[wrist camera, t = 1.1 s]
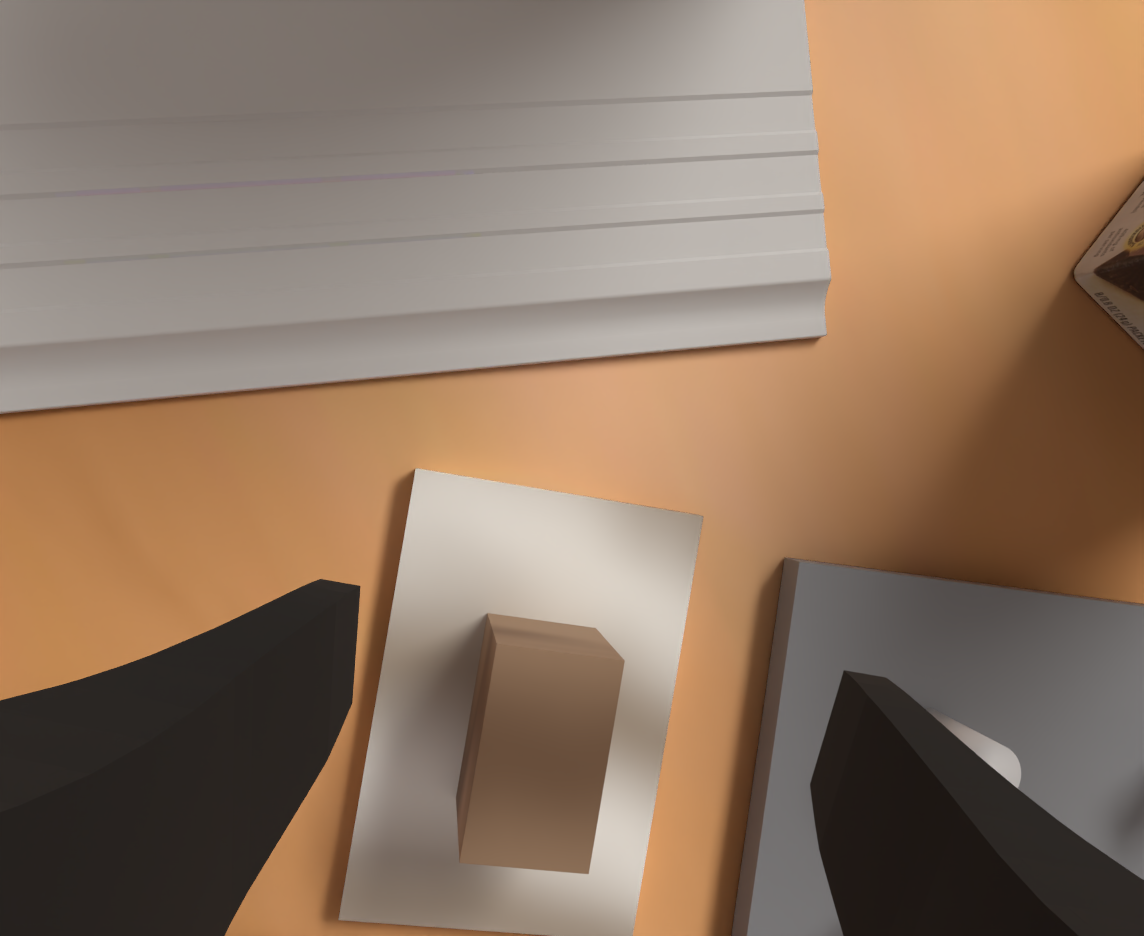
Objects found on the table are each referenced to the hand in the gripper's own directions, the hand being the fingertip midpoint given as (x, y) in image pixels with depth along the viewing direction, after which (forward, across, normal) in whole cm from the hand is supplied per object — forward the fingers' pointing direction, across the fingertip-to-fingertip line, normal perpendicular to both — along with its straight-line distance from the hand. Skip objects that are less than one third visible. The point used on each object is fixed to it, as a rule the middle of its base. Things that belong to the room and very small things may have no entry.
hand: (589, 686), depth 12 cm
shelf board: (+9, +2, +7) cm, 12 cm away
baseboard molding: (+12, +11, -5) cm, 17 cm away
